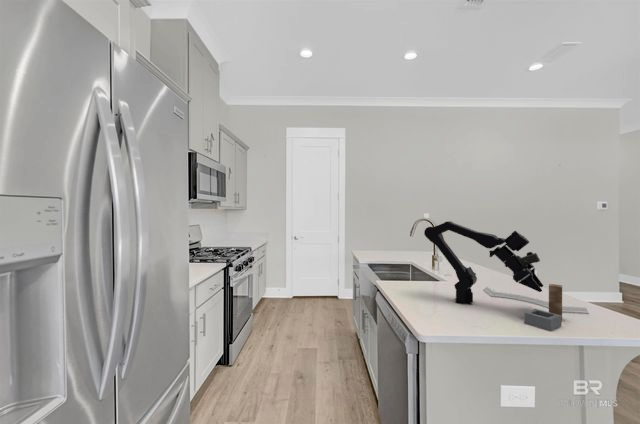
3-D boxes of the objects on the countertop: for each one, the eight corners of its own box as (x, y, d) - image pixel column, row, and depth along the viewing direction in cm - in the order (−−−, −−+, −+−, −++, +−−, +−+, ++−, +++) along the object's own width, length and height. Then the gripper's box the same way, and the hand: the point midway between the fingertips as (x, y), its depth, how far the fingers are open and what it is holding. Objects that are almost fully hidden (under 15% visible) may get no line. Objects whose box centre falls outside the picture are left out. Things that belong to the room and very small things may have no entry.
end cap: (524, 323, 110) (524, 312, 110) (535, 319, 114) (535, 308, 114) (550, 331, 103) (550, 319, 103) (561, 326, 107) (561, 315, 107)
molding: (591, 314, 122) (591, 307, 122) (581, 319, 115) (581, 312, 115) (487, 290, 157) (487, 285, 157) (474, 293, 151) (474, 288, 151)
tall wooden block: (548, 319, 114) (548, 285, 114) (549, 316, 117) (549, 283, 117) (562, 321, 112) (562, 287, 111) (562, 318, 115) (562, 285, 115)
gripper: (522, 248, 113) (560, 281, 106) (527, 243, 128) (560, 272, 121) (499, 266, 118) (533, 298, 111) (506, 260, 133) (536, 288, 126)
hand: (541, 288), depth 117 cm, fingers open, 9 cm apart
